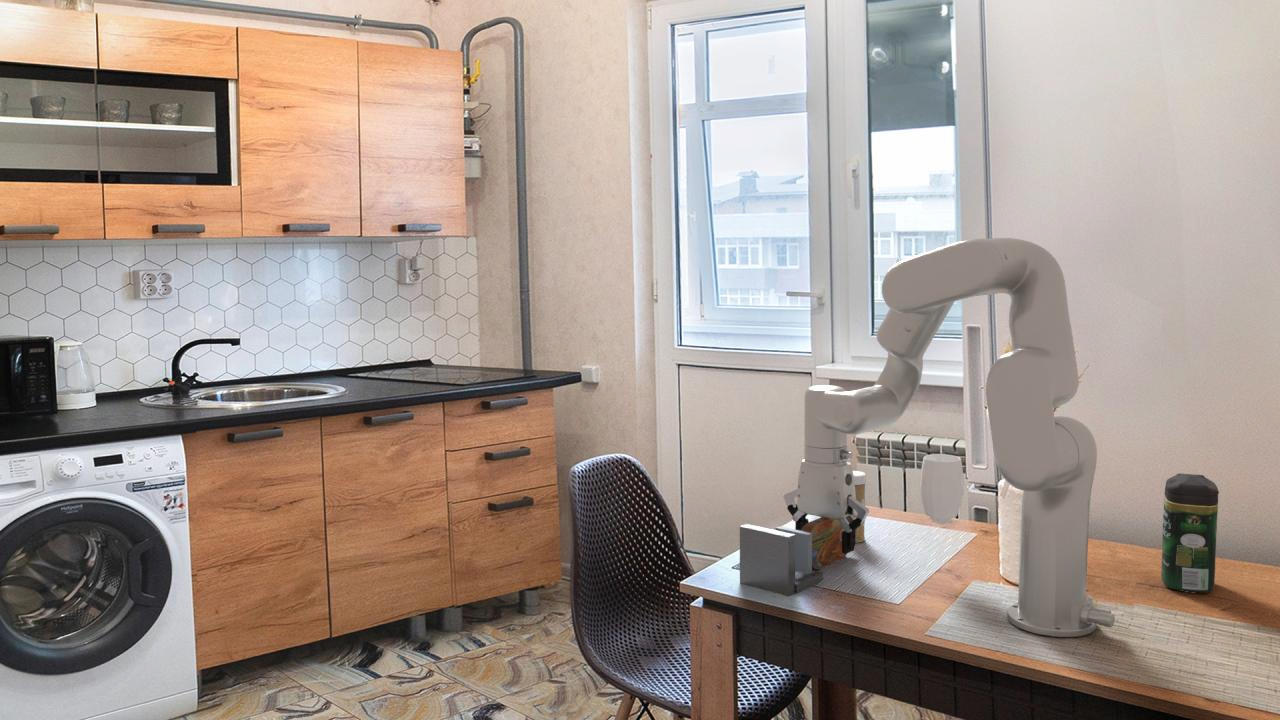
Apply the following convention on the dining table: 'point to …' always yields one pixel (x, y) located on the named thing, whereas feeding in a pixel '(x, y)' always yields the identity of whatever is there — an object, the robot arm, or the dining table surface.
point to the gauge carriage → (801, 549)
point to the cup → (941, 486)
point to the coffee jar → (1189, 533)
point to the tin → (825, 541)
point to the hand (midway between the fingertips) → (824, 546)
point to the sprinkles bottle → (860, 496)
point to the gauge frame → (771, 561)
